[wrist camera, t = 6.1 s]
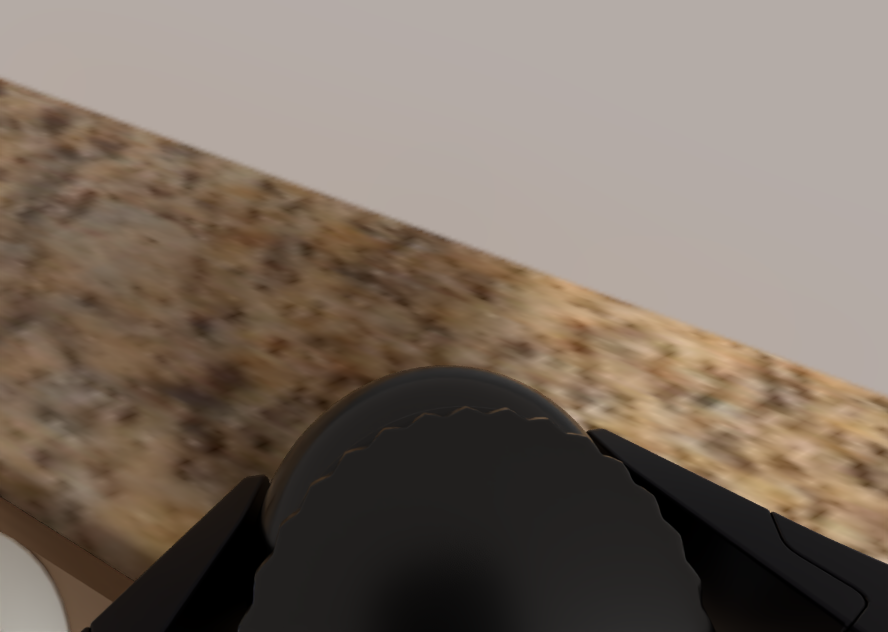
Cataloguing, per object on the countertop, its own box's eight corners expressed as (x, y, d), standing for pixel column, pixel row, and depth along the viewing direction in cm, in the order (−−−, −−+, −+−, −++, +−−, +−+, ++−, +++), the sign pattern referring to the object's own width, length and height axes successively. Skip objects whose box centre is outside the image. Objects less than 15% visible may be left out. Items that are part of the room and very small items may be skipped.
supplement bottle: (311, 421, 16) (93, 364, 5) (495, 382, 17) (688, 257, 6) (341, 637, 14) (114, 1386, 3) (543, 581, 15) (959, 978, 4)
